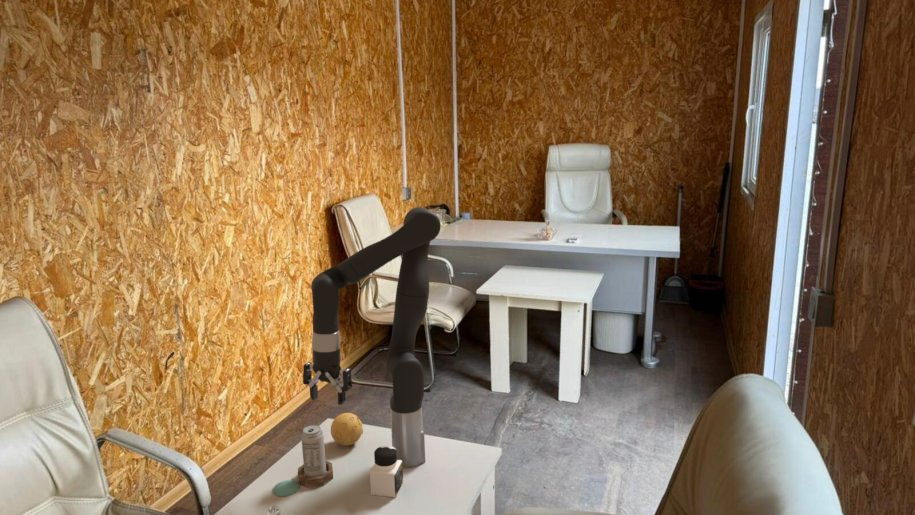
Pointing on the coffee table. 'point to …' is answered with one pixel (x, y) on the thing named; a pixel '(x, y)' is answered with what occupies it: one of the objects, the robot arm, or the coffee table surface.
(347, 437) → the stress ball
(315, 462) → the energy drink can
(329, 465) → the collar
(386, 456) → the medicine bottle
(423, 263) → the robot arm
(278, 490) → the coaster
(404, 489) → the coffee table surface
